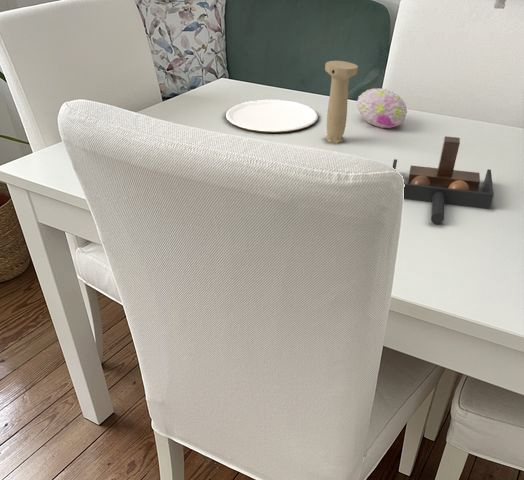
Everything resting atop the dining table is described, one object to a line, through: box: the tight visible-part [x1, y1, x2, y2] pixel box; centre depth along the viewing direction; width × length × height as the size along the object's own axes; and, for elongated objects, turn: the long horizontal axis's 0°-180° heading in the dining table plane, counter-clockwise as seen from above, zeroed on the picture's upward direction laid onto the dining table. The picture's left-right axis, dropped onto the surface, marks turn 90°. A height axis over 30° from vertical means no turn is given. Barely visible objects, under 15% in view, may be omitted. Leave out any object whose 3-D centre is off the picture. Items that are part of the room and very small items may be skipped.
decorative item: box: [356, 87, 408, 129], centre depth 125 cm, size 9×11×10 cm
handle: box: [324, 60, 359, 144], centre depth 114 cm, size 5×6×15 cm
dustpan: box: [392, 158, 495, 225], centre depth 98 cm, size 17×19×3 cm
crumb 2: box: [448, 180, 469, 191], centre depth 98 cm, size 4×4×4 cm
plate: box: [225, 99, 319, 134], centre depth 129 cm, size 21×21×1 cm
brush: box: [407, 136, 481, 192], centre depth 99 cm, size 12×4×9 cm, turn 76°
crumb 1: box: [410, 176, 431, 186], centre depth 99 cm, size 4×4×4 cm
